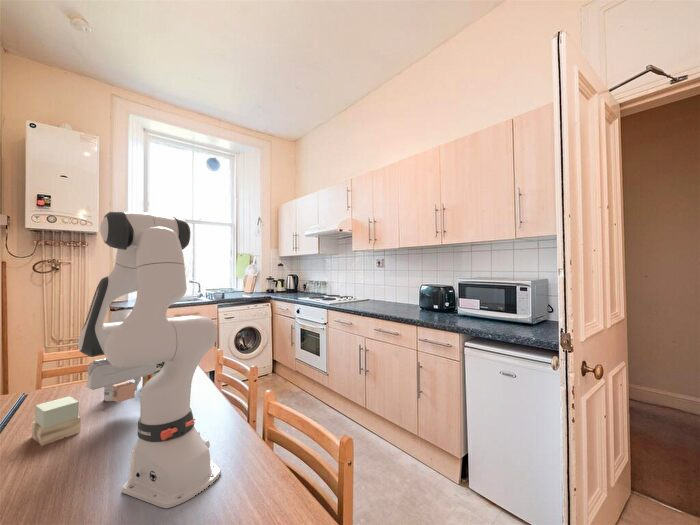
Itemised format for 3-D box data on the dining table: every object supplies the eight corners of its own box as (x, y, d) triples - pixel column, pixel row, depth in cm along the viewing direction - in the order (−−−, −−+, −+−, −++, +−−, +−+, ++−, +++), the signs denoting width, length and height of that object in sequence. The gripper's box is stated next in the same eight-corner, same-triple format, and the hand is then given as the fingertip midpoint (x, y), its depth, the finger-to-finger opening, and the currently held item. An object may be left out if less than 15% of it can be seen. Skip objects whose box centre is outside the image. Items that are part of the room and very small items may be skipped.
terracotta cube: (134, 397, 108) (134, 383, 108) (118, 402, 104) (118, 387, 104) (128, 394, 111) (128, 380, 111) (111, 399, 107) (112, 385, 107)
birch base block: (80, 433, 96) (80, 417, 96) (40, 447, 89) (41, 429, 89) (69, 425, 101) (70, 410, 101) (31, 438, 93) (32, 421, 94)
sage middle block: (78, 417, 96) (78, 401, 96) (43, 428, 90) (43, 411, 90) (69, 411, 100) (69, 396, 101) (35, 421, 94) (35, 405, 94)
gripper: (91, 363, 98) (90, 406, 97) (158, 349, 115) (158, 386, 114) (83, 360, 101) (82, 402, 100) (150, 347, 118) (149, 383, 118)
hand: (123, 393), depth 108 cm, fingers closed on terracotta cube, 5 cm apart
